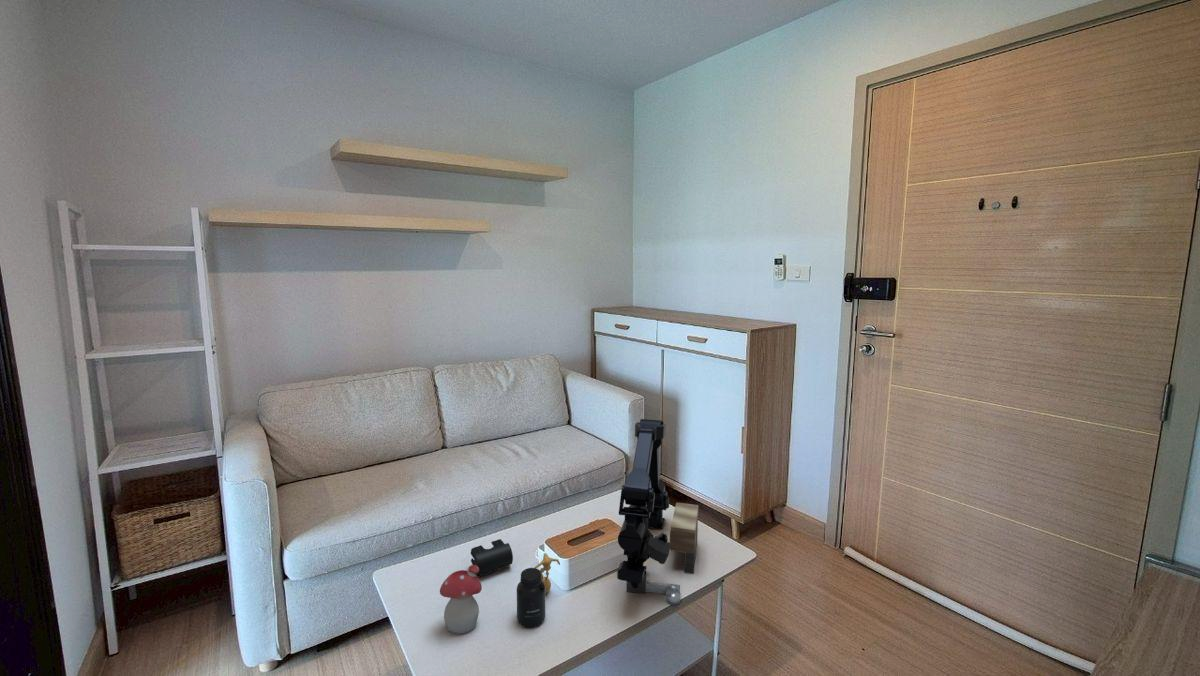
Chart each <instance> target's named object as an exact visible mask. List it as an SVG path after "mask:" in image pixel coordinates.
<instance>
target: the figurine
mask: <svg viewBox="0 0 1200 676" xmlns="http://www.w3.org/2000/svg"><path fill="white" fill-rule="evenodd" d="M542 558H543V559H542V560H541V561H540V562H539V563H538V564H537V565H536V566H534V567H533V568H536V569H538V568H539V567H540V569H539V570H540V572H541V580H542V581H543V582H544V584H545V594H547V593H549V591H550V590H551V587H552V582H551V580H550V578H549V576H550V574H549V571H550V570H551V567H552V566H551V564H552V562H556V564H557V565H559V566H561V563H560V560H559V559H557V558H552V557H550V556H549V555H548V554H547V552H545V553H543V557H542ZM541 566H543V567H541ZM545 571H546V573H545V575H546V576H544V574H543V573H544V572H545Z"/></svg>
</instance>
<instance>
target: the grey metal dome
mask: <svg viewBox="0 0 1200 676" xmlns="http://www.w3.org/2000/svg"><path fill="white" fill-rule="evenodd" d="M681 597H682V596H681V590H680V591H679V590H677V589H673V588H672V589H668V590H667V591H666V594H665V601H666V603H667V604H668V605H670V606H677V605H680V603H681Z"/></svg>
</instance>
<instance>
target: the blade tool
mask: <svg viewBox="0 0 1200 676" xmlns="http://www.w3.org/2000/svg"><path fill="white" fill-rule="evenodd" d="M625 582H626V583H625V584H626V586H625V587H626V588H625V589H626V590H625V591H626V592H629V593H640V594H646V593H655V594H662V595H663V594H665V595H666V591H667V590H668V589H672V588H673V589H677V590H679V591H680V592H681V584H674V583H663V582H655V581H648V580H647V570H646V571H645V573H644V578H643V582H642V583H638V587H637V588H633V587H632V585H631V583H630V582H629V581H625Z"/></svg>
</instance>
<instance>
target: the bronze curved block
mask: <svg viewBox="0 0 1200 676" xmlns="http://www.w3.org/2000/svg"><path fill="white" fill-rule="evenodd" d="M698 523H699V505H698V504H692V503H684V502H683V503H682V502H676V503H675V507H674V511H673V515H672V521H671V524H670V528H669V543H670V546H671V547H670V551H673V552H679V553H684V573H686V574H691V575H692V574H693V575H694V573H695V567H696V566H695V565H696V559H697V551H698V550H697V549H698V534H699V533H698V531H699V525H698Z"/></svg>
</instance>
